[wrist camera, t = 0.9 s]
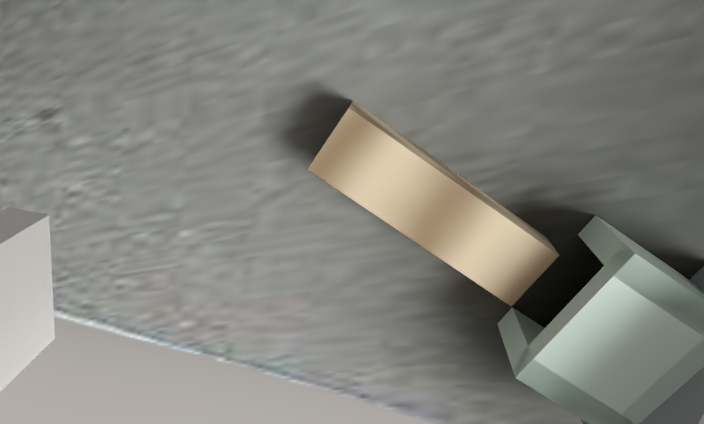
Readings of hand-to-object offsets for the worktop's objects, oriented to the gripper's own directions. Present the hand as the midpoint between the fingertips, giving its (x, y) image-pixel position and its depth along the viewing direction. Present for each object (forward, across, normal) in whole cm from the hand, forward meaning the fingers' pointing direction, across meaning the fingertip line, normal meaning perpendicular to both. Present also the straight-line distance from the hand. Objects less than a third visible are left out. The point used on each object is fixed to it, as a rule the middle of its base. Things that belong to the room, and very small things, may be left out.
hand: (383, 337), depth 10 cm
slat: (+21, +4, -4) cm, 22 cm away
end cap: (+20, +15, -8) cm, 26 cm away
